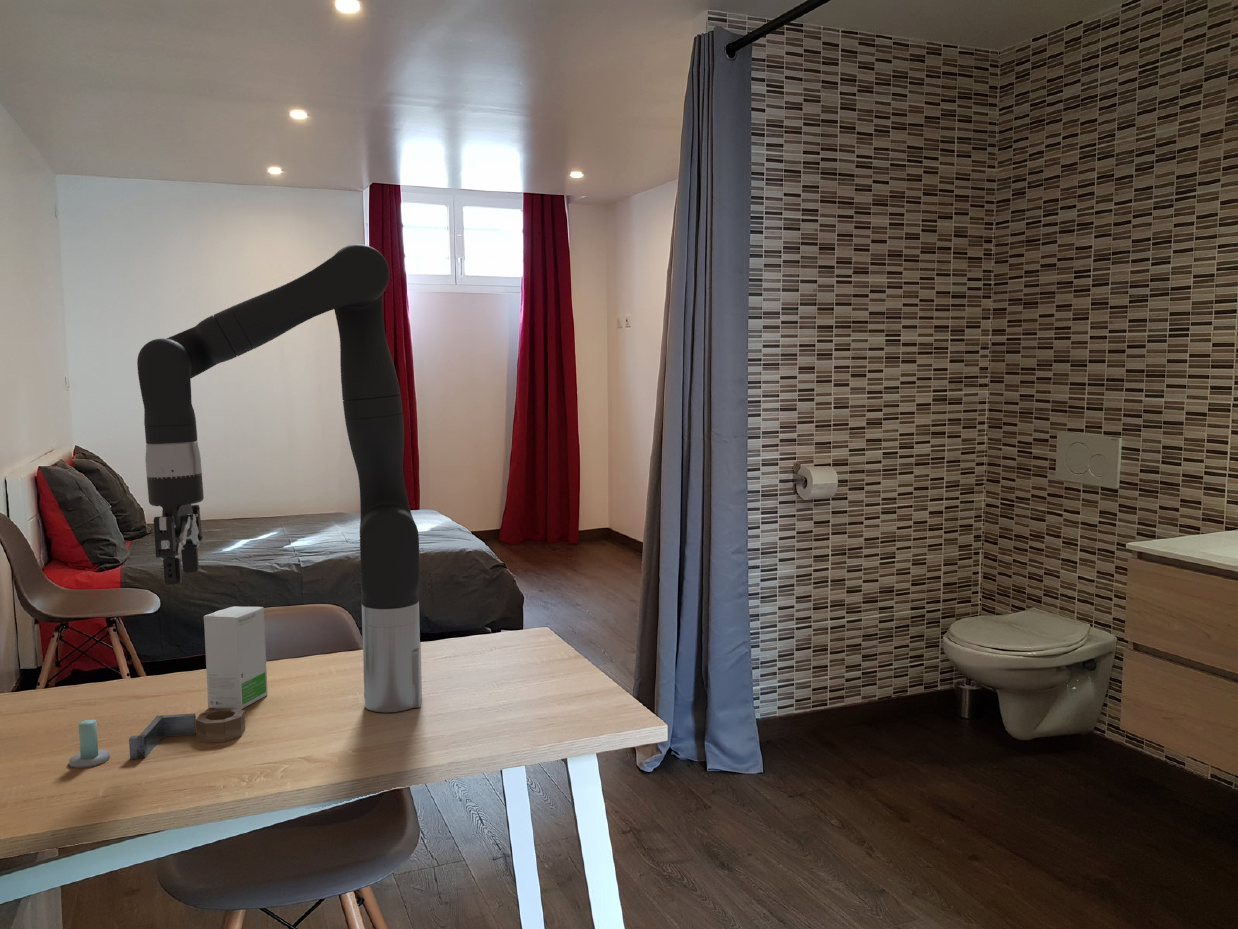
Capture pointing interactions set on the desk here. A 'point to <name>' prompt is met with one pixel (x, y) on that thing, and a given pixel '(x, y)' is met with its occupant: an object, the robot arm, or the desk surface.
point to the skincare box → (235, 657)
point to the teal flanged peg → (88, 747)
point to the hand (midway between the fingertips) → (182, 577)
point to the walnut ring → (220, 725)
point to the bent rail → (161, 733)
